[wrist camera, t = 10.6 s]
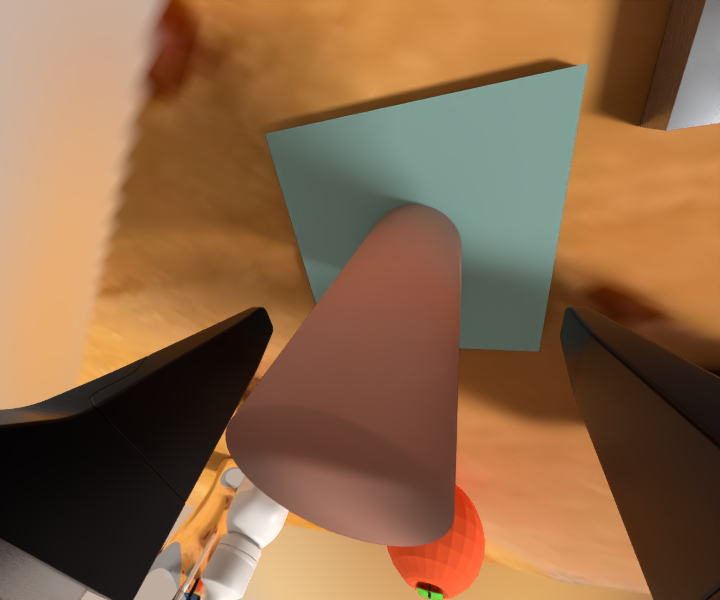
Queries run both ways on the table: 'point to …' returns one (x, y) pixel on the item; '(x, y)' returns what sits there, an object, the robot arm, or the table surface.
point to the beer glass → (193, 542)
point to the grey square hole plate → (687, 69)
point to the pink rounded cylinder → (367, 392)
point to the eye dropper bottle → (242, 542)
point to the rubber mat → (446, 191)
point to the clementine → (445, 555)
